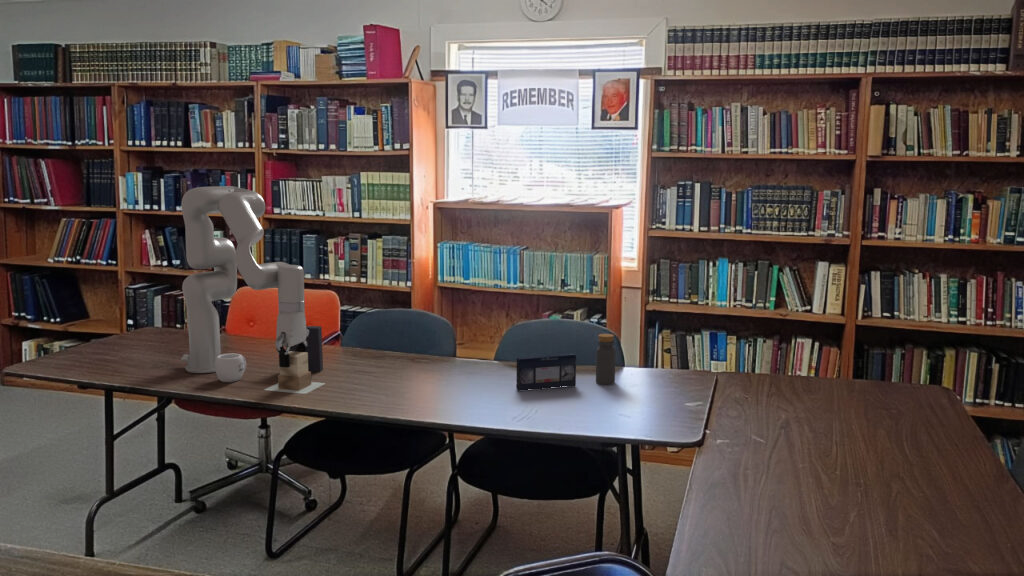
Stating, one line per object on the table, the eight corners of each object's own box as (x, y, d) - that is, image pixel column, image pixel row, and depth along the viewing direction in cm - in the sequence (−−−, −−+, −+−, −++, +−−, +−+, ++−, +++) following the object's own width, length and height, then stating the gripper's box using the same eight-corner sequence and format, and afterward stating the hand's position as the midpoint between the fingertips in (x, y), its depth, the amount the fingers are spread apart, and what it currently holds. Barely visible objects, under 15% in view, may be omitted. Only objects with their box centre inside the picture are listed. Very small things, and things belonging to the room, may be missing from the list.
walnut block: (278, 388, 255) (277, 375, 254) (291, 382, 262) (290, 369, 261) (299, 390, 253) (298, 377, 252) (311, 384, 260) (310, 371, 259)
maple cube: (280, 375, 255) (279, 355, 254) (290, 370, 261) (290, 351, 260) (298, 376, 253) (297, 357, 252) (308, 371, 259) (307, 352, 258)
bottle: (592, 383, 264) (593, 335, 261) (600, 379, 269) (600, 332, 266) (610, 386, 261) (611, 337, 258) (617, 381, 266) (618, 334, 264)
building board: (263, 391, 254) (263, 389, 254) (285, 381, 265) (285, 379, 265) (305, 395, 250) (305, 393, 250) (325, 385, 261) (325, 383, 261)
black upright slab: (323, 370, 278) (322, 325, 276) (319, 374, 274) (318, 328, 271) (291, 369, 279) (289, 324, 277) (286, 373, 275) (284, 327, 273)
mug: (232, 385, 261) (231, 360, 260) (210, 382, 264) (208, 357, 263) (257, 375, 272) (256, 351, 271) (235, 373, 275) (234, 349, 274)
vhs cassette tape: (518, 391, 255) (518, 359, 253) (515, 389, 258) (515, 356, 256) (576, 387, 260) (576, 355, 258) (573, 384, 263) (573, 353, 261)
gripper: (295, 301, 263) (297, 355, 266) (264, 311, 246) (266, 369, 249) (317, 302, 261) (319, 357, 264) (287, 313, 244) (289, 371, 247)
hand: (293, 363), depth 256 cm, fingers open, 9 cm apart
